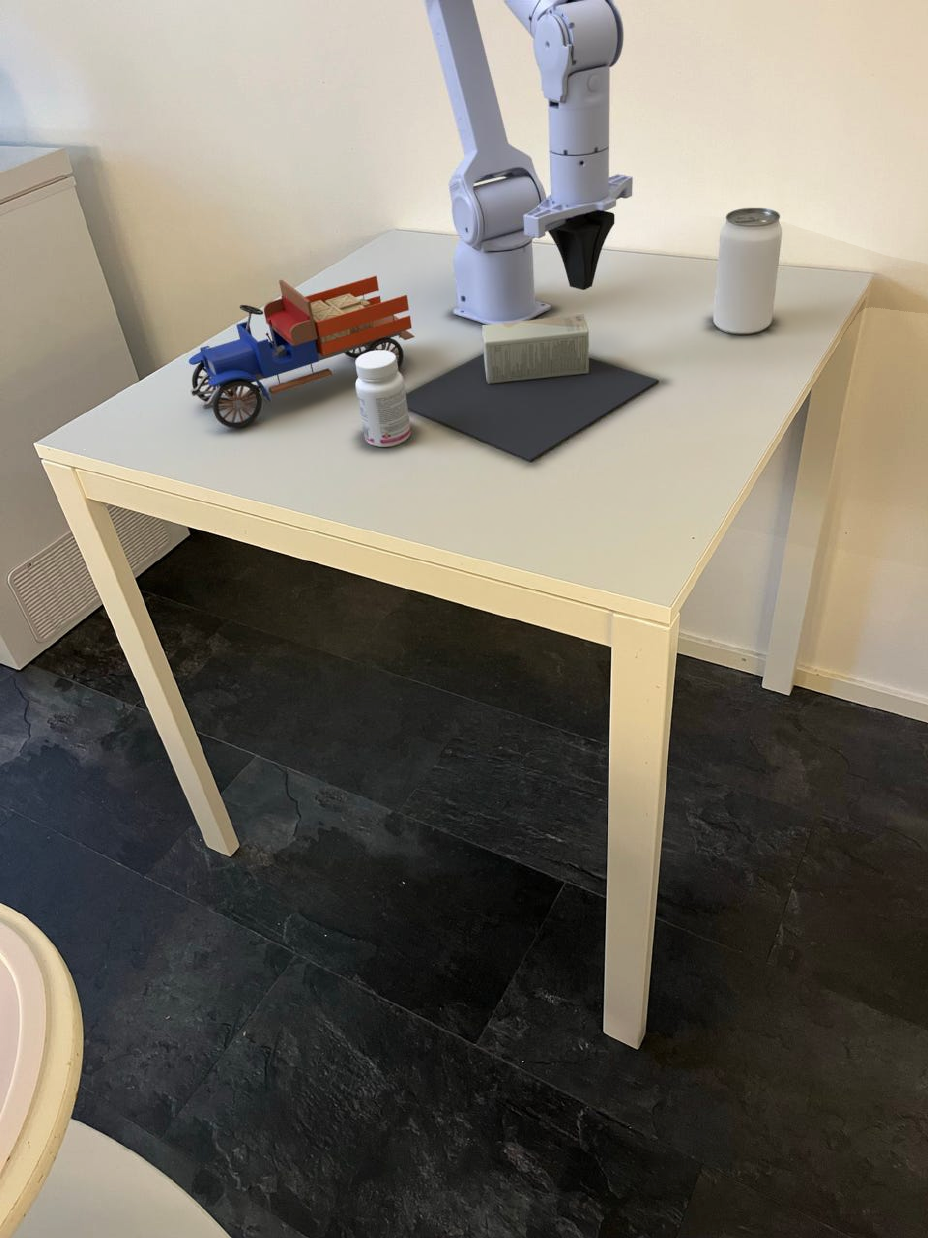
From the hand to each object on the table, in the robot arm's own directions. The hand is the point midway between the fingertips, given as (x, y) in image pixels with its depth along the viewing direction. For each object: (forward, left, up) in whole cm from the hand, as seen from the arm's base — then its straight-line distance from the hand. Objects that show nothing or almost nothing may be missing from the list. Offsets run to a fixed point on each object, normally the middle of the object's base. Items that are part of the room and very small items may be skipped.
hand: (580, 286), depth 101 cm
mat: (0, -9, -8) cm, 13 cm away
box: (+2, -1, -6) cm, 6 cm away
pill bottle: (-5, -24, -9) cm, 26 cm away
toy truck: (-21, -22, -9) cm, 32 cm away
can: (+9, +18, -9) cm, 22 cm away
